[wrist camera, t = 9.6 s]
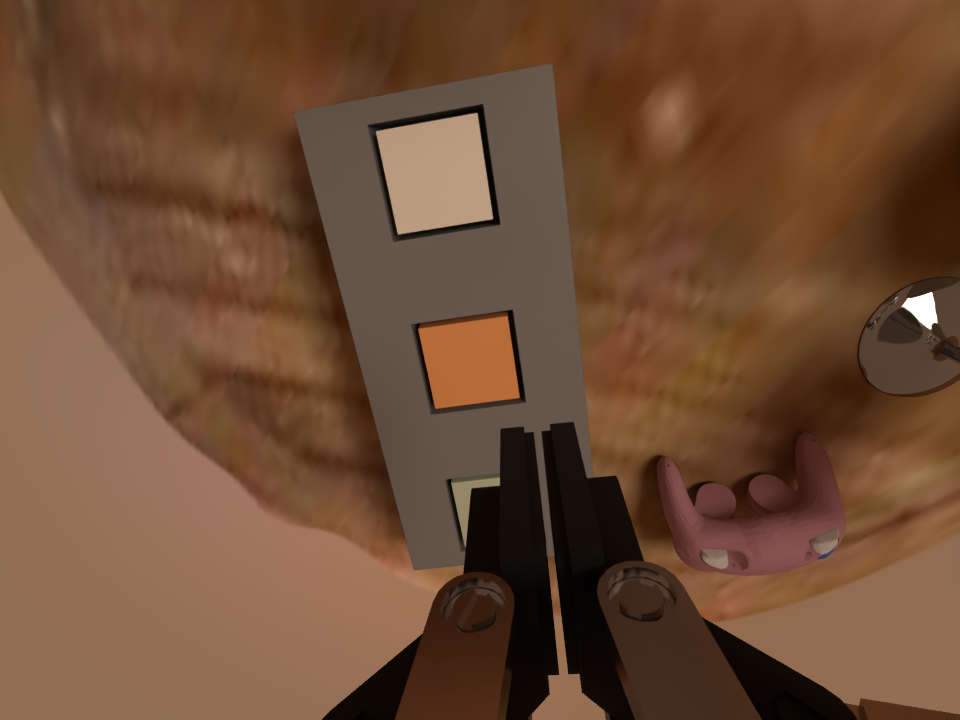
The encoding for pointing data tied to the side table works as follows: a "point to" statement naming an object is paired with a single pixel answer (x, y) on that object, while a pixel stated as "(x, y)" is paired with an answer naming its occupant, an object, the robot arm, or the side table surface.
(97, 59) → the side table surface
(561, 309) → the button panel
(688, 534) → the video game controller
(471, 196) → the button cream
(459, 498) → the button sage
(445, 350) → the button orange
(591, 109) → the side table surface
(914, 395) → the wine glass
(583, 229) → the side table surface
